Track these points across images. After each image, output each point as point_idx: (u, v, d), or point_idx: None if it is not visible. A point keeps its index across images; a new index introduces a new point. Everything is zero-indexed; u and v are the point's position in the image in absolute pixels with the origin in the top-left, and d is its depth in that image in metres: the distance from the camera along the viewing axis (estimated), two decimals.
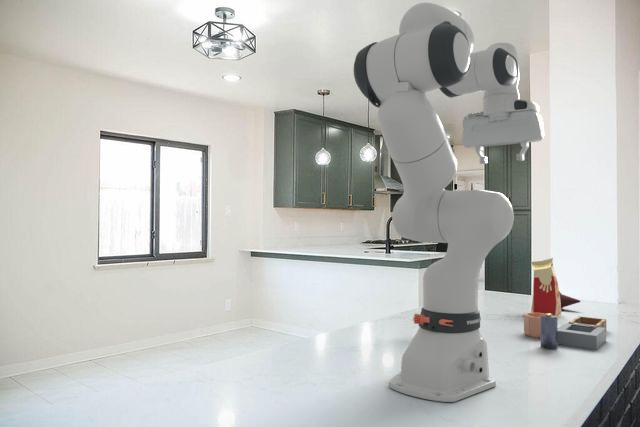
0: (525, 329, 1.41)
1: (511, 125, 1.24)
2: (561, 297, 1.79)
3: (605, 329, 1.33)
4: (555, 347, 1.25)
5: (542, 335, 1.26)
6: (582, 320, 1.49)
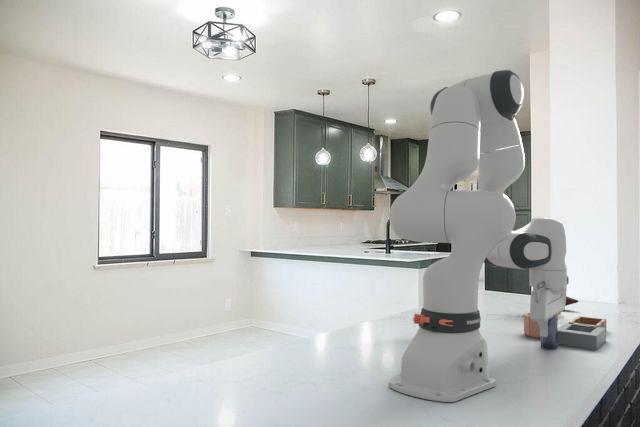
0: (525, 329, 1.41)
1: (557, 297, 1.29)
2: None
3: (605, 329, 1.33)
4: (555, 347, 1.25)
5: None
6: (582, 320, 1.49)
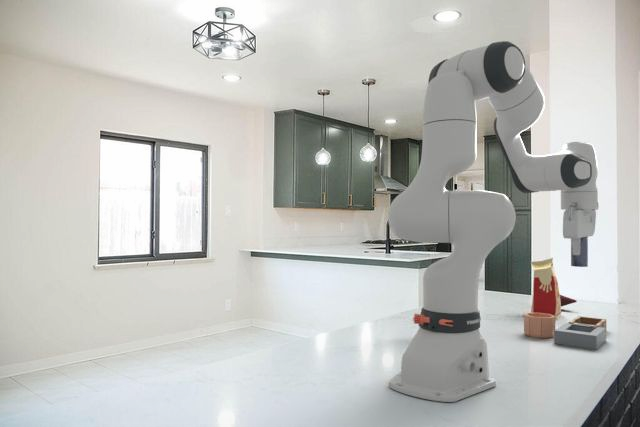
0: (525, 329, 1.41)
1: (587, 221, 1.34)
2: None
3: (605, 329, 1.33)
4: (585, 265, 1.31)
5: None
6: (582, 320, 1.49)
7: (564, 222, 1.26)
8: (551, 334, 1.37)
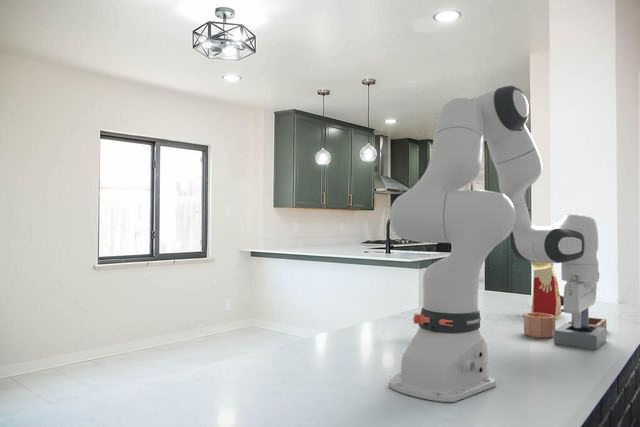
0: (525, 329, 1.41)
1: (588, 291, 1.34)
2: None
3: (605, 329, 1.33)
4: None
5: (573, 326, 1.32)
6: None
7: (565, 297, 1.26)
8: (551, 334, 1.37)
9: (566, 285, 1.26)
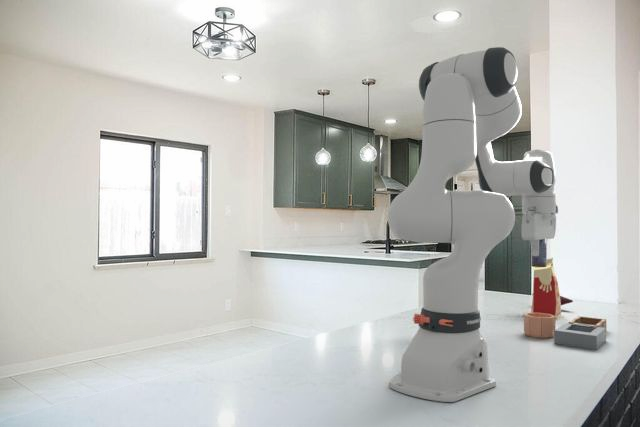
0: (525, 329, 1.41)
1: (547, 224, 1.43)
2: None
3: (605, 329, 1.33)
4: (544, 265, 1.39)
5: None
6: (582, 320, 1.49)
7: (523, 225, 1.34)
8: (551, 334, 1.37)
9: (524, 214, 1.35)
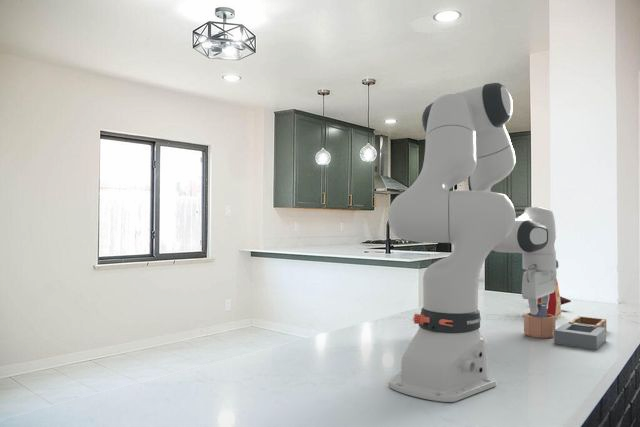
0: (525, 329, 1.41)
1: (547, 280, 1.42)
2: None
3: (605, 329, 1.33)
4: None
5: None
6: (582, 320, 1.49)
7: (523, 284, 1.34)
8: (551, 334, 1.37)
9: (524, 273, 1.35)
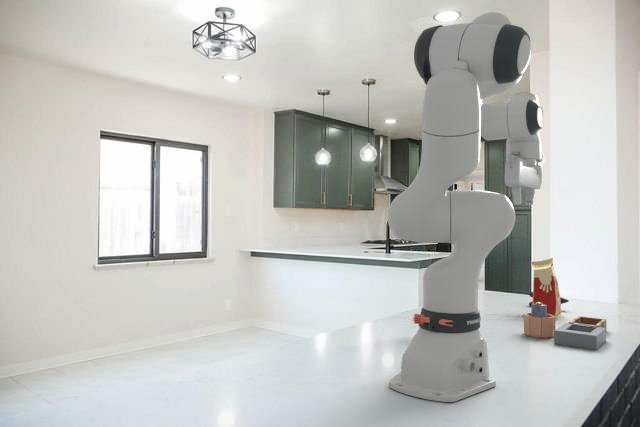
0: (525, 329, 1.41)
1: (532, 172, 1.36)
2: None
3: (605, 329, 1.33)
4: None
5: None
6: (582, 320, 1.49)
7: (506, 170, 1.28)
8: (551, 334, 1.37)
9: (507, 159, 1.29)
